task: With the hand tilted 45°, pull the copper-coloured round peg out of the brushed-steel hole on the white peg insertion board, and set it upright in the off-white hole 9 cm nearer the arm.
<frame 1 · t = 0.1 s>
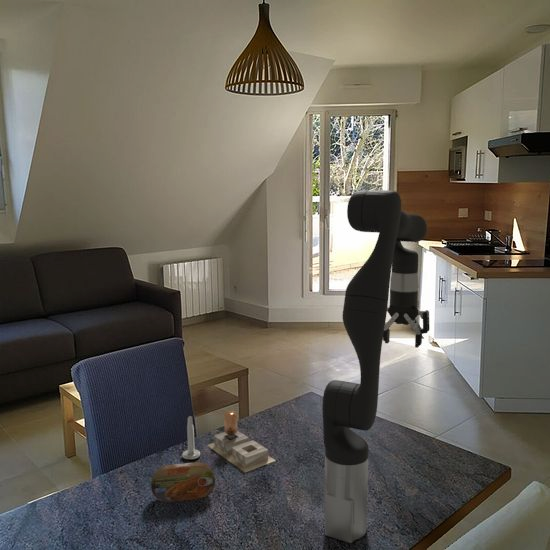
hand: (402, 344, 157), 29 cm above the table, tool pointing down, fingers open, 8 cm apart
white peg insertion board: (240, 456, 154), on the table
tin: (184, 498, 135), on the table
screw: (191, 461, 152), on the table
copper-coloured round peg: (231, 446, 158), point 1 cm above the table, touching white peg insertion board
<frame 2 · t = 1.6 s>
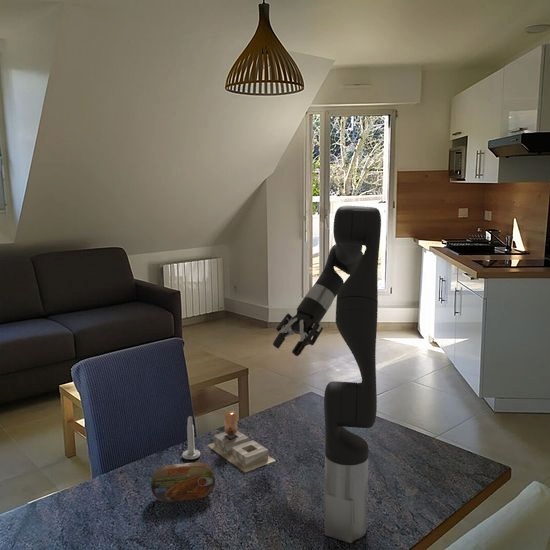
hand: (284, 350, 154), 29 cm above the table, tool tilted 45°, fingers open, 8 cm apart
nothing on the table moved.
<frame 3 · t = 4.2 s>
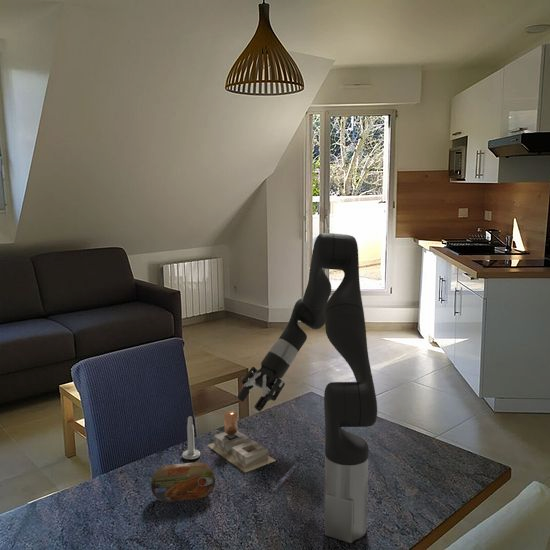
hand: (248, 404, 159), 12 cm above the table, tool tilted 45°, fingers open, 8 cm apart
nothing on the table moved.
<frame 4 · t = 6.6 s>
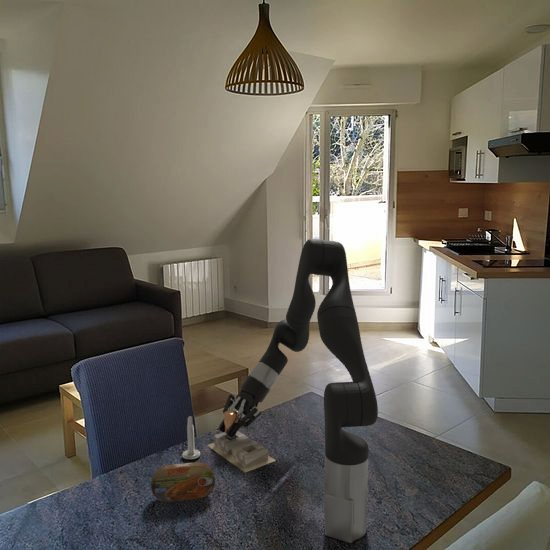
hand: (225, 433, 156), 6 cm above the table, tool tilted 45°, fingers closed on copper-coloured round peg, 3 cm apart
copper-coloured round peg: (231, 446, 158), point 1 cm above the table, touching white peg insertion board, gripper
everything else where it was.
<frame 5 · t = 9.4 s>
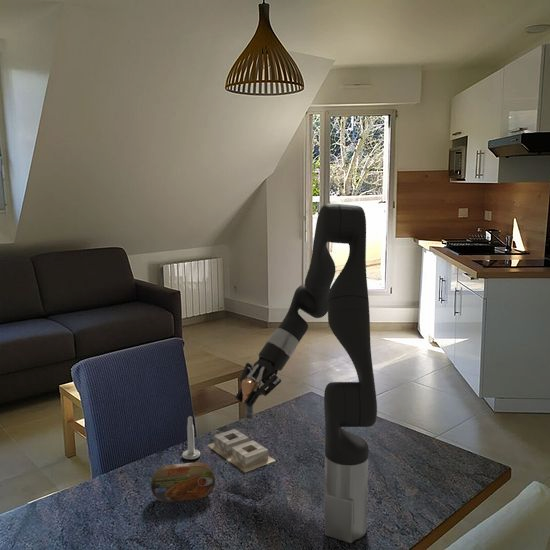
hand: (242, 402, 146), 18 cm above the table, tool tilted 45°, fingers closed on copper-coloured round peg, 3 cm apart
copper-coloured round peg: (249, 417, 148), point 13 cm above the table, touching gripper
everything else where it was.
when the fingers open (7 cm above the table, at t = 12.3 s): copper-coloured round peg stays where it is, resting on white peg insertion board.
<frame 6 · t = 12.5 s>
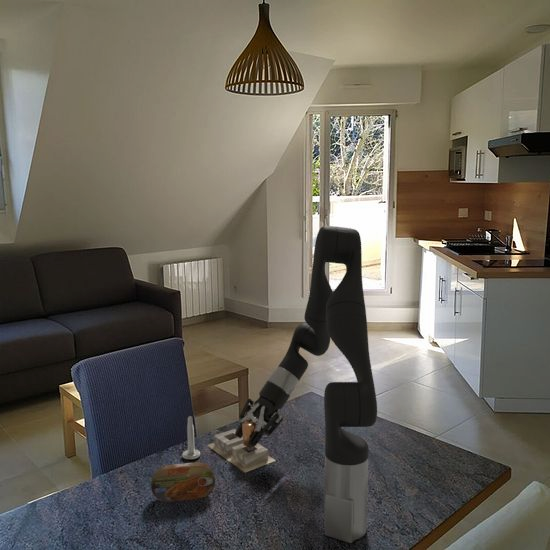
hand: (244, 440, 148), 7 cm above the table, tool tilted 45°, fingers open, 5 cm apart
copper-coloured round peg: (250, 458, 151), point 1 cm above the table, touching white peg insertion board
everything else where it was.
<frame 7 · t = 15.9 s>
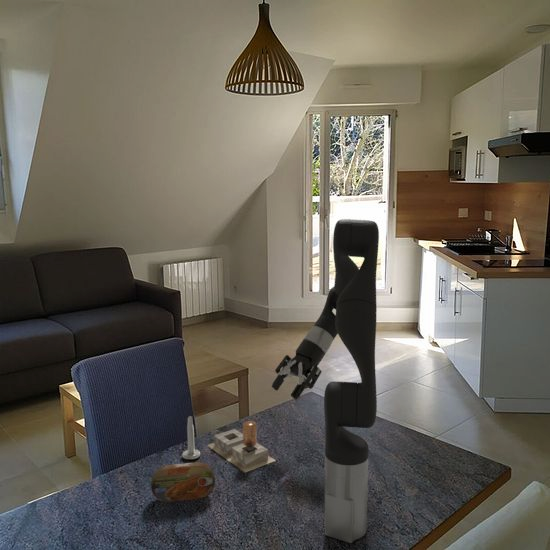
hand: (283, 393, 155), 17 cm above the table, tool tilted 45°, fingers open, 8 cm apart
nothing on the table moved.
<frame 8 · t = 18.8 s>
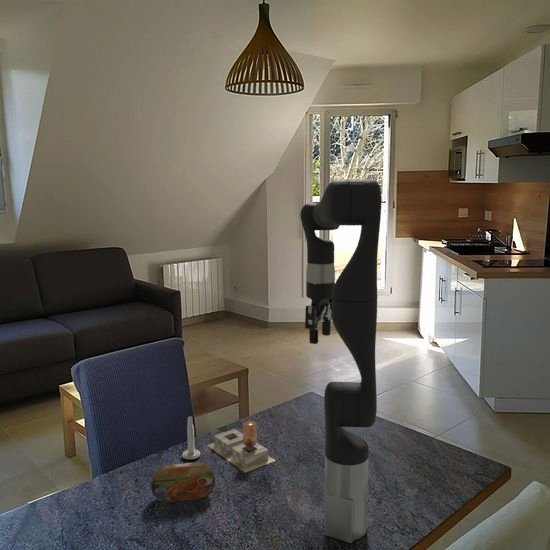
hand: (320, 339, 149), 33 cm above the table, tool pointing down, fingers open, 8 cm apart
nothing on the table moved.
at the end: copper-coloured round peg 0.2 cm from the target spot, point 1.2 cm above the table; copper-coloured round peg tilted 0°; the gripper is holding nothing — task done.
